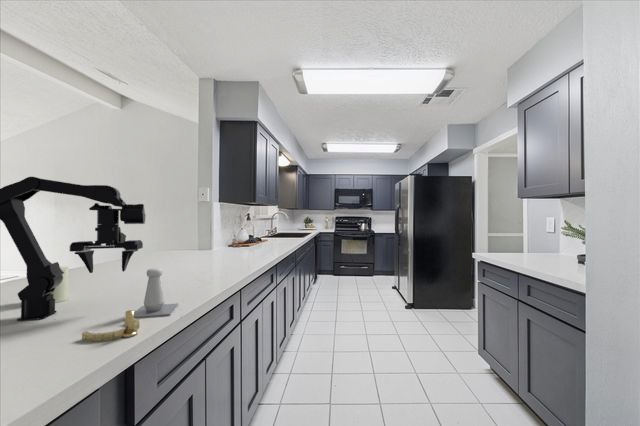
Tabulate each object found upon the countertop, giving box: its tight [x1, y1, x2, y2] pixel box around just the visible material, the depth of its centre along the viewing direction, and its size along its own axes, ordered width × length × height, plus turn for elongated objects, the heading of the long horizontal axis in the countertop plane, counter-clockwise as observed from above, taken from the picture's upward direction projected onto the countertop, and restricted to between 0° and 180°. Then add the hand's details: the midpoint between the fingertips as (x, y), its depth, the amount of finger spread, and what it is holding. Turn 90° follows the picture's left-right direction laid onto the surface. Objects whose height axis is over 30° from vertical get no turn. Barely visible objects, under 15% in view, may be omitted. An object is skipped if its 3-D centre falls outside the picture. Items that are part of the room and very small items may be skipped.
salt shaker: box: [143, 267, 166, 312], centre depth 90 cm, size 6×6×13 cm
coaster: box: [134, 302, 179, 319], centre depth 90 cm, size 11×11×1 cm
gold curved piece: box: [81, 309, 140, 343], centre depth 73 cm, size 10×12×6 cm
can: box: [50, 266, 69, 304], centre depth 103 cm, size 9×9×12 cm
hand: (107, 272), depth 93 cm, fingers open, 9 cm apart
